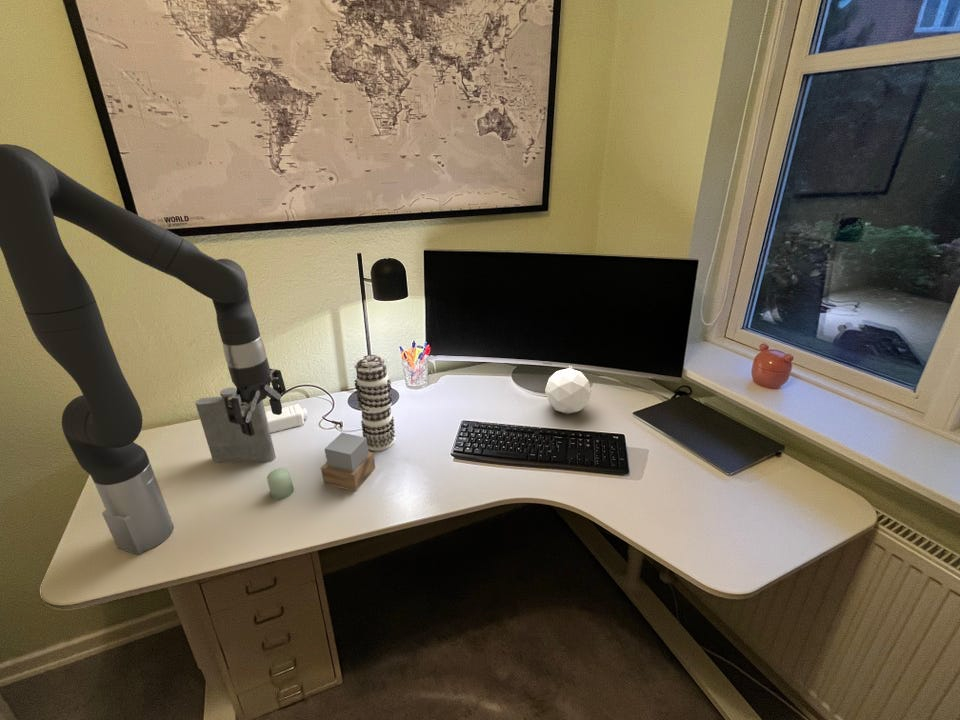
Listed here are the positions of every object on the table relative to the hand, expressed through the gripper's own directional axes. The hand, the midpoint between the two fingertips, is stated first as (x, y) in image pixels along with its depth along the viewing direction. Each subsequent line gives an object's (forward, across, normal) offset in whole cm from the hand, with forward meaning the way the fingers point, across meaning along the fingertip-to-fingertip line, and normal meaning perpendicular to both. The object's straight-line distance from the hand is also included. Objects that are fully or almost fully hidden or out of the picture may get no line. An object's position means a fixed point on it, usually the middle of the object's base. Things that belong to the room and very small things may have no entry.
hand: (264, 423), depth 106 cm
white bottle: (+20, +22, +19) cm, 35 cm away
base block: (+19, +10, -13) cm, 25 cm away
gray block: (+14, +10, -13) cm, 22 cm away
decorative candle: (+20, +24, -12) cm, 34 cm away
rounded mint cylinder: (+19, -1, -1) cm, 19 cm away
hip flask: (+19, +7, +17) cm, 27 cm away
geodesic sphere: (+20, +58, -57) cm, 84 cm away
